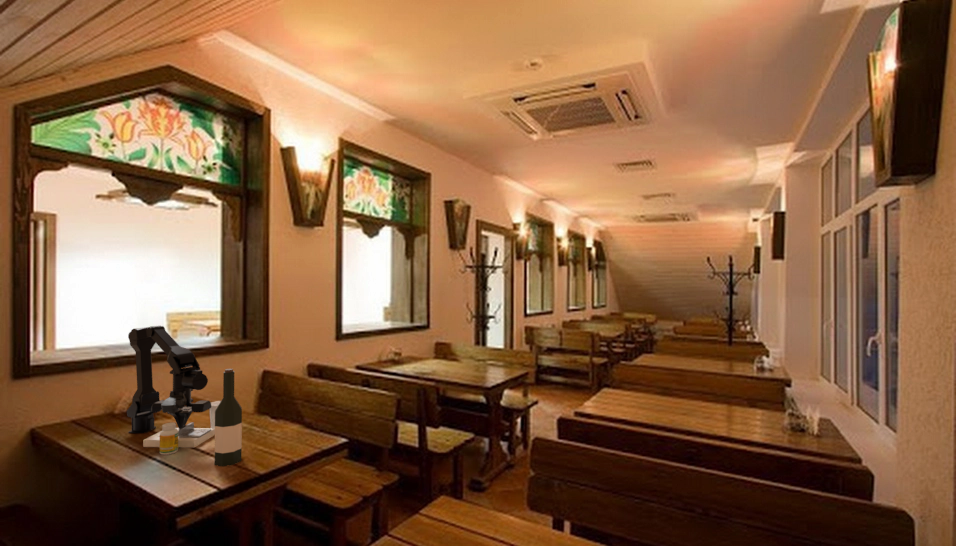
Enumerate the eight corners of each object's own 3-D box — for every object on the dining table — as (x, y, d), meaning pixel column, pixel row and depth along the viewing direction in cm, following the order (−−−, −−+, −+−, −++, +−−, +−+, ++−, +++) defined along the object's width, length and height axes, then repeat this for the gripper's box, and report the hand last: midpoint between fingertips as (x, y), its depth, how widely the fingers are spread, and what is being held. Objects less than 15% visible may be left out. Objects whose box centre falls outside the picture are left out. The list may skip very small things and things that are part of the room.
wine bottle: (220, 456, 159) (221, 366, 159) (246, 456, 160) (247, 366, 160) (208, 466, 151) (209, 372, 151) (236, 466, 152) (236, 372, 152)
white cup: (236, 425, 191) (236, 400, 191) (223, 432, 183) (224, 406, 183) (217, 424, 192) (217, 399, 192) (204, 431, 184) (204, 405, 184)
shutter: (178, 437, 170) (178, 428, 170) (191, 430, 178) (191, 422, 178) (199, 437, 170) (199, 429, 170) (211, 430, 178) (211, 422, 178)
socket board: (143, 446, 167) (143, 439, 167) (167, 434, 180) (167, 427, 180) (194, 447, 167) (194, 440, 167) (214, 434, 180) (215, 428, 180)
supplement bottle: (160, 450, 164) (161, 422, 164) (179, 448, 166) (179, 420, 166) (158, 456, 159) (158, 427, 159) (177, 453, 162) (177, 425, 162)
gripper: (140, 392, 166) (140, 436, 166) (194, 392, 166) (193, 437, 166) (162, 384, 177) (161, 426, 177) (212, 385, 177) (211, 427, 177)
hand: (181, 429), depth 174 cm, fingers closed
